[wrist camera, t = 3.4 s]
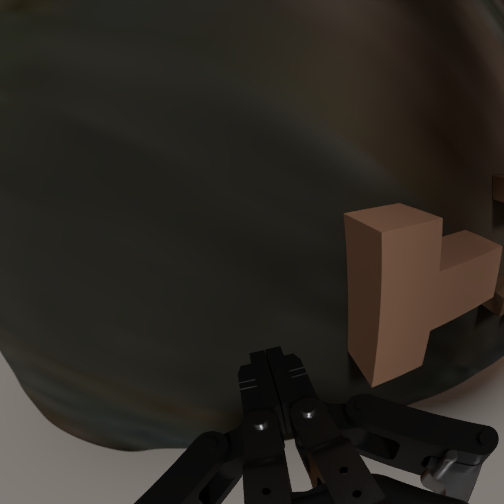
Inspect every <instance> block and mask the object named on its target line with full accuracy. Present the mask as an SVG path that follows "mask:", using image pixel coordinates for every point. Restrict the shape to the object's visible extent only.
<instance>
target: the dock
mask: <svg viewBox="0 0 504 504" xmlns="http://www.w3.org/2000/svg"><path fill="white" fill-rule="evenodd" d="M493 199H494V200H497V201H500V202H503V203H504V175H493ZM482 305H483V306H484V307H486V308H487V309H489V310H490V311H491V312H493V313H494V314H495V315H497V316H498V317H500V316H502V315H503V314H504V274H502V275H500V276H498V277H497V282H496V286H495V291H494V295H493V297H492V298H491V299H489V300H487V301H486V302H484V303H482Z"/></svg>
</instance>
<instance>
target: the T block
mask: <svg viewBox="0 0 504 504" xmlns="http://www.w3.org/2000/svg"><path fill="white" fill-rule="evenodd" d="M344 224H345V237H346V253H347V275H348V352H349V353H350V355H351V357H352V358H353V360H354V361H355V363H356V364H357V366H358V367H359V369H360V370H361V372H362V373H363V375H364V376H365V378H366V379H367V381H368V383H369V384H370V386H371V387H374V386H377V385H379V384H382V383H384V382H386V381H389V380H391V379H393V378H396V377H398V376H400V375H402V374H405V373H407V372H409V371H411V370H413V369H415V368H417V367H419V366H421V365H422V363H423V359H424V355H425V351H426V347H427V343H428V338H429V333H430V331H431V330H433V329H435V328H437V327H439V326H441V325H443V324H445V323H447V322H449V321H451V320H453V319H455V318H457V317H459V316H461V315H462V314H464V313H466V312H468V311H470V310H472V309H473V308H475V307H477V306H479V305H480V304H482V303H484V302H486V301H487V300H489V299H491V298H492V297H493V295H494V291H495V286H496V282H497V277H498V271H499V266H500V260H501V253H502V246H501V245H499V244H497V243H495V242H493V241H490V240H488V239H486V238H484V237H481V236H479V235H477V234H474V233H472V232H470V231H467V230H463V231H460V232H457V233H453V234H450V235H446V236H443V237H442V225H443V218H441V217H438V216H435V215H433V214H430V213H427V212H424V211H421V210H419V209H416V208H413V207H410V206H407V205H404V204H401V203H397V204H391V205H386V206H381V207H375V208H370V209H365V210H359V211H354V212H349V213H344Z"/></svg>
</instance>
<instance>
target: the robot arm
mask: <svg viewBox="0 0 504 504" xmlns="http://www.w3.org/2000/svg"><path fill="white" fill-rule="evenodd" d="M265 351H266V355H265ZM265 351H264V350H262V351H258V352H254V353H249V354H250V359H251V363H252V364H248V365H243V366H241V367H240V370H239V372H238V379H239V385H240V392H241V398H242V404H243V410H244V419H243V421H242V423H241V424H240V425H239V426H238V427H237V428H236V429H234V430H232V431H230V432H228V433H226V434H222V433H219V432H215V431H210V432H206V433H203V434H201V435H200V436H198V437H197V438H196V440H195V441H194V442H193V443H192V444H191V445H190V446H189V447H188V448H187V450H186V451H185V452H184V453H183V454H182V455H181V456H180V457H179V458H178V459H177V461H176V462H175V463H174V464H173V465H172V466H171V467H170V468H169V469H168V470H167V471H166V472H165V473H164V474H163V475H162V476H161V477H160V478H159V479H158V480H157V482H155V483H154V484H153V486H151V488H150V489H148V490H147V492H145V493H144V494H143V495H142V496H141V497H140V498H139V499H138V500H137V501H136V502H135V503H134V504H221V503H222V502H223V501H224V499H225V498H226V497H227V495H228V494H229V493H230V492H231V490H232V489H233V488H234V486H235V485H236V484H237V482H238V481H239V480H240V478H241V477H242V474H243V489H244V503H245V504H469V503H468V501H469V498H470V496H471V493H472V491H473V489H474V486H475V483H476V481H477V478H478V475H479V472H480V469H481V466H482V464H483V462H484V461H485V460H486V459H487V458H488V456H489V455H490V454H491V453H492V452H493V451H494V449H495V448H496V447H497V444H498V439H499V438H498V434H497V432H496V430H495V429H494V428H492V427H490V426H486V425H481V424H476V423H471V422H466V421H462V420H457V419H453V418H448V417H445V416H440V415H437V414H433V413H429V412H425V411H422V410H418V409H415V408H411V407H407V406H404V405H401V404H398V403H394V402H391V401H388V400H385V399H382V398H379V397H376V396H372V395H369V394H358V395H355V396H353V397H352V398H350V399H349V400H348V402H347V403H345V404H328V403H325V402H323V401H321V400H320V399H319V398H318V397H317V395H316V393H315V391H314V388H313V386H312V384H311V382H310V379H309V377H308V375H307V373H306V370H305V368H304V366H303V364H302V362H301V359H300V358H298V357H297V356H296V355H294V354H289V355H285V356H284V355H283V352H282V350H281V347H280V346H279V347H275V348H271V349H266V350H265ZM266 356H267V358H266ZM267 361H268V362H267ZM283 420H284V421H283ZM284 423H285V426H284ZM285 427H286V430H287V433H288V434H289V433H293V436H294V439H295V444H296V448H297V450H298V452H299V455H300V457H301V459H302V461H303V464H304V466H305V468H306V471H307V473H308V475H309V478H310V480H311V484H312V487H313V489H311V490H309V491H305V492H292V489H291V484H290V479H289V473H288V467H287V462H286V456H285V451H284V448H285V444H284V439H283V435H285V434H286V431H285ZM359 454H360V455H362V456H365V457H367V458H370V459H373V460H375V461H378V462H381V463H383V464H386V465H389V466H392V467H395V468H398V469H402V470H404V471H408V472H411V473H414V474H418V475H421V476H420V479H421V483H422V485H423V486H424V487H426V488H428V489H430V490H432V491H433V492H431V491H427V490H424V489H421V488H418V487H415V486H412V485H409V484H406V483H403V482H401V481H398V480H395V479H393V478H390V477H387V476H384V475H380V474H371V473H370V471H369V469H368V468H367V466H366V465H365V463H364V461H363V460H362V458H361V456H360V455H359Z"/></svg>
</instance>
